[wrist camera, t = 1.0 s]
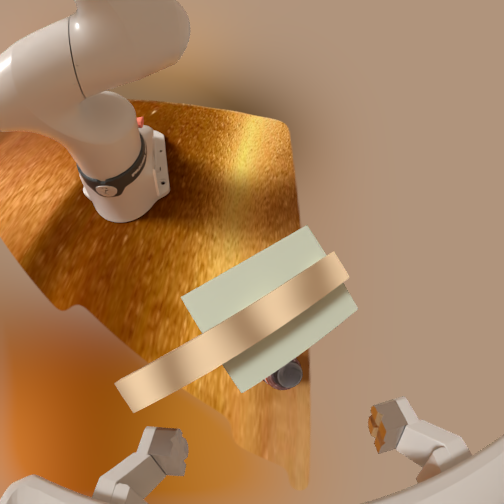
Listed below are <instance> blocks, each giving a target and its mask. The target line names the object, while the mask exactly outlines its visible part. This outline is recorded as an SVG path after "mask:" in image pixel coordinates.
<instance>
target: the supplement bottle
mask: <svg viewBox="0 0 504 504" xmlns="http://www.w3.org/2000/svg"><path fill="white" fill-rule="evenodd" d="M302 375H303V374H302V369H301V365H300V363H299V361H298V360H297V359H296V358H294V359H293V360H292V361H290V362H289V363H287V364H286V365H284V366H283V367H282V368H280V369H279V370H277V371H276V372H274V373H273V374H271V375H270V376H268V377H267V378H265V379H264V380H263V381H264V382H266V383H267V384H269V385H270V386H272V387H273V388H275V389H278V390H287V389H290V388H292V387H294V386H296V385H297V384H299V383H300V381H301V379H302Z"/></svg>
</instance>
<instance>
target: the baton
mask: <svg viewBox="0 0 504 504" xmlns="http://www.w3.org/2000/svg"><path fill="white" fill-rule="evenodd" d="M348 278H349V275H348V274H347V272H346V270H345V269H344V267H343V265H342V264H341V262H340V261H339V259H338V257H337V256H336V254H335V252H332V253H330V254H329V255H327V256H325V257H323V258H322V259H320V260H319V261H317V262H316V263H314V264H313V265H311V266H310V267H308V268H307V269H305V270H304V271H302V272H301V273H299V274H297V275H296V276H294V277H293V278H291V279H290V280H288V281H287V282H285V283H284V284H282V285H280V286H279V287H277V288H276V289H274V290H273V291H271V292H269V293H268V294H266V295H265V296H263V297H261V298H260V299H258V300H257V301H255V302H253V303H252V304H250V305H249V306H247V307H245V308H244V309H242V310H240V311H239V312H237V313H236V314H234V315H232V316H231V317H229V318H227V319H226V320H224V321H222V322H221V323H219V324H217V325H216V326H214V327H212V328H211V329H209V330H207V331H205V332H204V333H202V334H200V335H199V336H197V337H195V338H194V339H192V340H190V341H188V342H187V343H185V344H183V345H181V346H180V347H178V348H176V349H174V350H173V351H171V352H169V353H167V354H166V355H164V356H162V357H160V358H158V359H157V360H155V361H153V362H151V363H149V364H147V365H146V366H144V367H142V368H140V369H138V370H137V371H135V372H133V373H131V374H129V375H127V376H125V377H124V378H122V379H120V380H119V381H117V382H116V383H115V385H116V387H117V388H118V390H119V392H120V393H121V395H122V396H123V398H124V399H125V401H126V402H127V404H128V405H129V407H130V408H131V410H132V411H133V413H134V412H136V411H138V410H140V409H142V408H144V407H146V406H148V405H150V404H152V403H154V402H156V401H158V400H160V399H162V398H164V397H166V396H167V395H169V394H171V393H173V392H175V391H177V390H179V389H180V388H182V387H184V386H186V385H188V384H189V383H191V382H193V381H195V380H197V379H198V378H200V377H202V376H203V375H205V374H207V373H209V372H210V371H212V370H214V369H215V368H217V367H219V366H220V365H222V364H224V363H225V362H227V361H229V360H230V359H232V358H234V357H235V356H237V355H238V354H240V353H242V352H243V351H245V350H246V349H248V348H250V347H251V346H253V345H254V344H256V343H257V342H259V341H260V340H262V339H264V338H265V337H267V336H268V335H270V334H271V333H273V332H274V331H276V330H277V329H279V328H280V327H282V326H283V325H285V324H286V323H287V322H289V321H290V320H292V319H293V318H295V317H296V316H298V315H299V314H300V313H302V312H303V311H305V310H306V309H308V308H309V307H310V306H312V305H313V304H315V303H316V302H317V301H319V300H320V299H321V298H323V297H324V296H326V295H327V294H328V293H330V292H331V291H332V290H334V289H335V288H336V287H338V286H339V285H340V284H342V283H343V282H344V281H346V280H347V279H348Z"/></svg>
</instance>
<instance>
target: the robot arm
mask: <svg viewBox="0 0 504 504" xmlns="http://www.w3.org/2000/svg"><path fill="white" fill-rule="evenodd" d="M74 1H75V3H76V5H77V11H76V12H75V13H74V14H72V15H70V16H69V17H67V18H64V19H62V20H60V21H57V22H55V23H53V24H50V25H48V26H46V27H44V28H42V29H40V30H37V31H35V32H33V33H32V34H30V35H28V36H26V37H24V38H22V39H20V40H18V41H17V42H15V43H14V44H13V45H12V46H10V47H9V48H8V49H7V50H5V51H4V52H3V53H2V54H1V55H0V131H2V132H8V131H27V132H33V133H38V134H41V135H44V136H47V137H49V138H52V139H54V140H56V141H57V142H59V143H61V144H62V145H63V146H64V147H65V148H66V149H67V150H68V151H69V153H70V154H71V155H72V157H73V158H74V160H75V161H76V163H77V168H78V171H79V173H80V178H81V180H82V182H83V185H84V188H83V192H84V194H85V196H86V197H87V198H89V199H90V200H91V201H92V202H93V204H94V206H95V208H96V210H97V212H98V213H99V214H100V215H101V216H102V217H103V218H105V219H107V220H109V221H112V222H128V221H132V220H135V219H137V218H139V217H141V216H142V215H144V214H145V213H146V212H147V211H148V210H149V209H150V208H151V207H152V206H153V204H154V203H155V202H156V201H157V200H158V199H160V198H162V197H164V196H165V195H167V194H168V193H169V192H170V183H169V175H168V166H167V157H166V147H165V138H164V135H163V134H162V133H160V132H157V131H154V130H153V129H152V128H150V127H149V126H146V125H143V123H144V120H143V117H139V118H136V113H135V110H134V108H133V106H132V105H131V103H130V102H129V101H128V100H127V99H125V98H124V97H122V96H121V95H119V94H117V93H114V92H109V91H106V90H109V89H112V88H115V87H118V86H121V85H124V84H127V83H130V82H134V81H137V80H140V79H142V78H144V77H146V76H149V75H151V74H153V73H156V72H158V71H160V70H162V69H165V68H167V67H169V66H172V65H174V64H176V63H177V62H178V60H179V59H180V58H181V56H182V55H183V53H184V51H185V49H186V47H187V45H188V42H189V37H190V22H189V18H188V15H187V13H186V11H185V10H184V8H183V7H182V6H181V5H180V3H179V2H177V1H176V0H74ZM162 183H165V184H164V185H162ZM371 414H372V415H371V416H370V417H369V420H368V428H369V431H370V434H371V436H372V437H374V438H375V441H374V444H375V447H376V449H377V452H378V454H380V453H383V452H387V451H390V450H393V449H396V450H398V451H399V452H400V453H402V454H403V455H405V456H406V457H408V458H409V459H411V460H412V461H413V462H415V463H416V464H418V465H420V466H421V467H423V469H422V470H421V471H420V473H419V474H418V476H417V477H416V480H417V482H418V484H416V485H414V486H411V487H408V488H406V489H403V490H401V491H398V492H396V493H393V494H390V495H387V496H384V497H381V498H378V499H375V500H372V501H369V502H365V503H362V504H504V435H502V436H501V437H500V438H498V439H497V440H495V441H494V442H492V443H491V444H489V445H488V446H486V447H485V448H483V449H482V450H480V451H479V452H477V453H476V454H474V455H472V454H471V452H470V451H469V449H468V448H467V446H466V444H465V442H464V441H463V439H462V438H461V436H458V435H456V434H454V433H451V432H449V431H447V430H444V429H442V428H440V427H437V426H435V425H433V424H431V423H429V422H427V421H424V420H419V419H418V417H417V415H416V414H415V412H414V410H413V409H412V407H411V405H410V404H409V402H408V401H407V399H406V397H404V396H402V397H399V398H396V399H394V400H389V401H386V402H383V403H380V404H377V405H373V406H372V407H371ZM187 457H188V444H187V441H186V439H185V438H183V437H182V432H181V430H180V429H174V428H161V427H149V426H147V427H146V428H145V430H144V433H143V436H142V439H141V441H140V444H139V447H138V450H137V453H133V454H131V455H130V456H129V457H127V458H126V459H125V460H123V461H122V462H121V463H119V464H118V465H116V466H115V467H114V468H112V469H111V470H109V471H108V472H107V473H105V474H104V475H102V476H101V477H100V478H99V481H98V484H97V486H96V488H95V491H94V493H93V496H92V498H91V497H88V496H85V495H83V494H80V493H77V492H74V491H72V490H69V489H67V488H65V487H62V486H60V485H57V484H55V483H53V482H50V481H48V480H46V479H44V478H42V477H40V476H38V475H30V476H27V477H25V478H22V479H20V480H18V481H16V482H14V483H12V484H11V485H10V486H9V487H8V488H7V490H6V491H5V493H4V494H3V496H2V498H1V499H0V504H148V503H147V502H146V501H145V500H143V499H144V498H145V497H146V496H147V495H148V494H149V493H150V492H151V491H152V490H153V489H154V488H155V487H156V486H157V485H158V484H159V483H160V482H161V481H162V480H163V479H164V477H166V475H174V476H184V473H185V468H186V464H185V462H184V460H185V459H186V458H187Z"/></svg>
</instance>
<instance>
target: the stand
mask: <svg viewBox="0 0 504 504" xmlns="http://www.w3.org/2000/svg"><path fill="white" fill-rule="evenodd" d="M325 256H327V255H326V254H325V253H324V251H323V249H322V248H321V246H320V244H319V243H318V241H317V240H316V238H315V236H314V235H313V233H312V232H311V230H310V229H309V227H308V226H307V225H306V226H304V227H303V228H301V229H299V230H297V231H296V232H294V233H292V234H290V235H289V236H287V237H285V238H283V239H282V240H280V241H278V242H276V243H275V244H273V245H271V246H269V247H268V248H266V249H264V250H263V251H261V252H259V253H257V254H256V255H254V256H252V257H250V258H249V259H247V260H245V261H243V262H242V263H240V264H238V265H236V266H235V267H233V268H231V269H229V270H228V271H226V272H224V273H222V274H221V275H219V276H217V277H215V278H214V279H212V280H210V281H208V282H207V283H205V284H203V285H201V286H200V287H198V288H196V289H194V290H193V291H191V292H189V293H187V294H186V295H184V296H182V297H181V298H182V300H183V302H184V304H185V305H186V307H187V309H188V310H189V312H190V314H191V316H192V317H193V319H194V321H195V322H196V324H197V326H198V327H199V329H200V330H201V332H202V333H204V332H205V331H207V330H209V329H211V328H212V327H214V326H216V325H217V324H219V323H221V322H222V321H224V320H226V319H227V318H229V317H231V316H232V315H234V314H236V313H237V312H239V311H240V310H242V309H244V308H245V307H247V306H249V305H250V304H252V303H253V302H255V301H257V300H258V299H260V298H261V297H263V296H265V295H266V294H268V293H269V292H271V291H273V290H274V289H276V288H277V287H279V286H280V285H282V284H284V283H285V282H287V281H288V280H290V279H291V278H293V277H294V276H296V275H297V274H299V273H301V272H302V271H304V270H305V269H307V268H308V267H310V266H311V265H313V264H314V263H316V262H317V261H319V260H320V259H322V258H323V257H325ZM356 310H358V307H357V306H356V304H355V302H354V300H353V299H352V297H351V295H350V294H349V292H348V290H347V288H346V287H345V285H344V283H342V284H340V285H339V286H338V287H336V288H335V289H334V290H332V291H331V292H330V293H328V294H327V295H326V296H324V297H323V298H321V299H320V300H319V301H317V302H316V303H315V304H313V305H312V306H310V307H309V308H308V309H306V310H305V311H303V312H302V313H300V314H299V315H298V316H296V317H295V318H293V319H292V320H290V321H289V322H287V323H286V324H285V325H283V326H282V327H280V328H279V329H277V330H276V331H274V332H273V333H271V334H270V335H268V336H267V337H265V338H264V339H262V340H260V341H259V342H257V343H256V344H254V345H253V346H251V347H250V348H248V349H246V350H245V351H243V352H242V353H240V354H238V355H237V356H235V357H234V358H232V359H230V360H229V361H227V362H225V363H224V364H222V365H223V366H224V368H225V369H226V371H227V372H228V374H229V375H230V377H231V378H232V380H233V381H234V383H235V384H236V386H237V387H238V388H239V390H240V391H241V393H243V392H245V391H246V390H248V389H250V388H251V387H253V386H254V385H256V384H258V383H259V382H261V381H262V380H264V379H265V378H267V377H268V376H270V375H271V374H273V373H274V372H276V371H277V370H279V369H280V368H282V367H283V366H284V365H286V364H287V363H289V362H290V361H292V360H293V359H294V358H296V357H297V356H299V355H300V354H301V353H303V352H304V351H305V350H307V349H308V348H310V347H311V346H312V345H313V344H315V343H316V342H317V341H319V340H320V339H321V338H323V337H324V336H325V335H327V334H328V333H329V332H330V331H332V330H333V329H334V328H335V327H337V326H338V325H339V324H340V323H342V322H343V321H344V320H345V319H347V318H348V317H349V316H350V315H351V314H353V313H354V312H355V311H356Z"/></svg>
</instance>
